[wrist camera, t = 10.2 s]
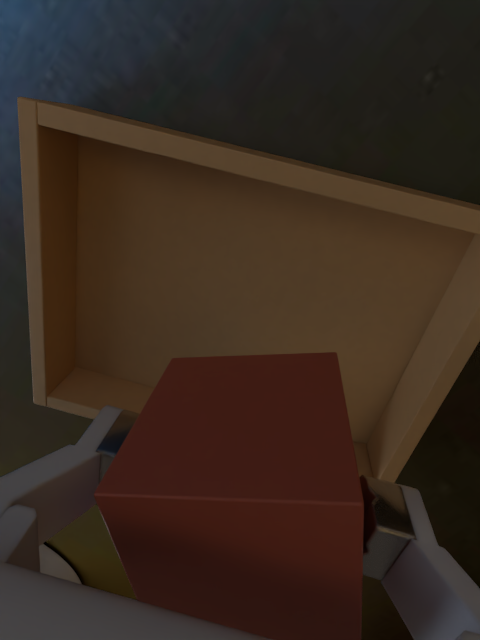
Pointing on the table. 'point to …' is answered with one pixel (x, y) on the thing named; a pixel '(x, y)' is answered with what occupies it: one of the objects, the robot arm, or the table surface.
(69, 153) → the tray
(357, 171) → the table surface
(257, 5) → the table surface
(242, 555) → the block
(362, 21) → the table surface
